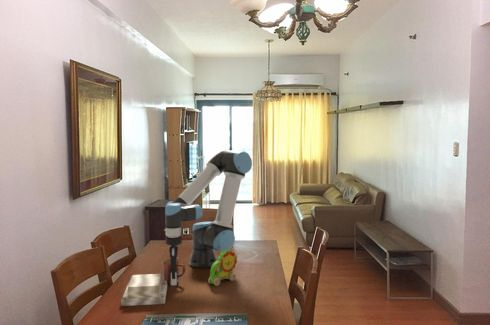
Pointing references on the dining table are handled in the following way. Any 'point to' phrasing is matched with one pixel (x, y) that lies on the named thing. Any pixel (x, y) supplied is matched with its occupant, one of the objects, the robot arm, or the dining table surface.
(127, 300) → the mottled white flat box
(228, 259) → the toy lion
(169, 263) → the mug
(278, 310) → the dining table surface
